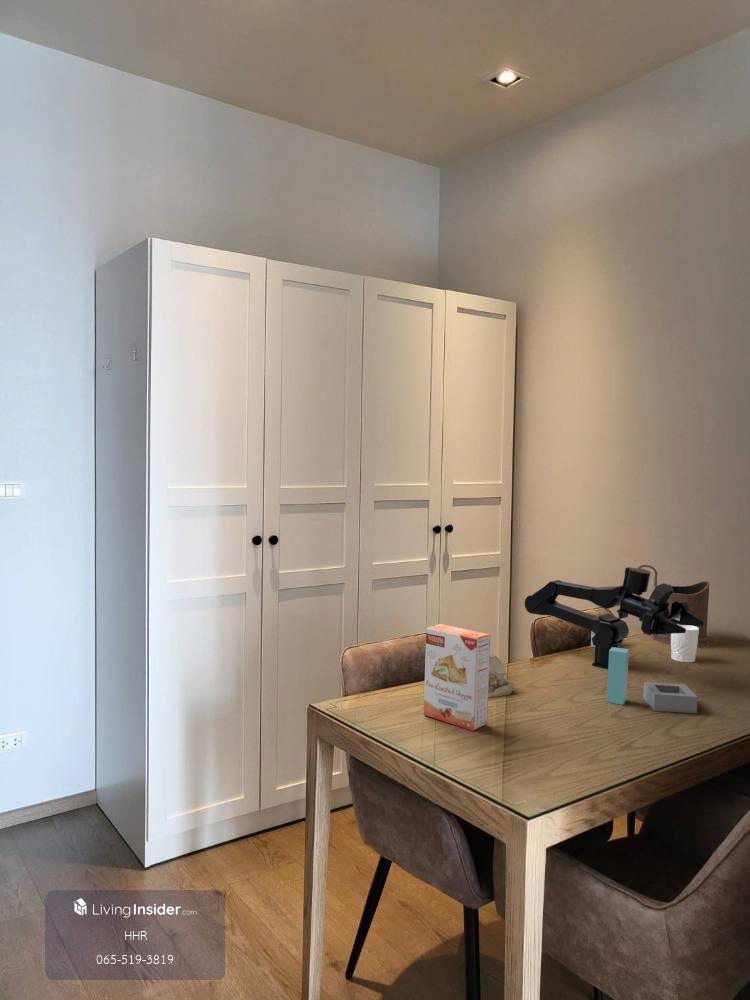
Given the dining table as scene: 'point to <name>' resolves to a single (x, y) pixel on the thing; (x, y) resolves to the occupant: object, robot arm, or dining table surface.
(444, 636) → the cracker box
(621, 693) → the plug
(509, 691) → the ceramic model
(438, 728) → the dining table surface
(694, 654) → the white cup
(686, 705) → the socket
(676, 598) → the rusty brown pitcher
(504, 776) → the dining table surface
